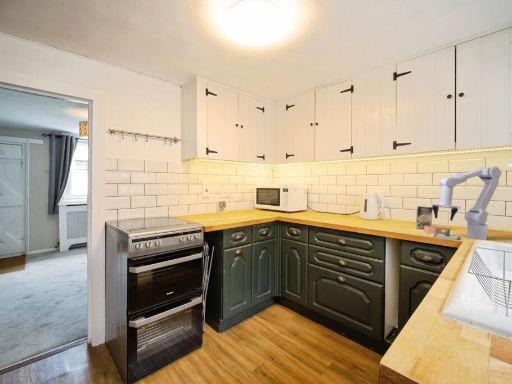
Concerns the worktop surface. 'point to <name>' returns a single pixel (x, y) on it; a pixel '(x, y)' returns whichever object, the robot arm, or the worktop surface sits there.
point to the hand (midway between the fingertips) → (443, 219)
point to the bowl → (432, 229)
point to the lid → (447, 235)
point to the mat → (446, 238)
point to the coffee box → (423, 217)
